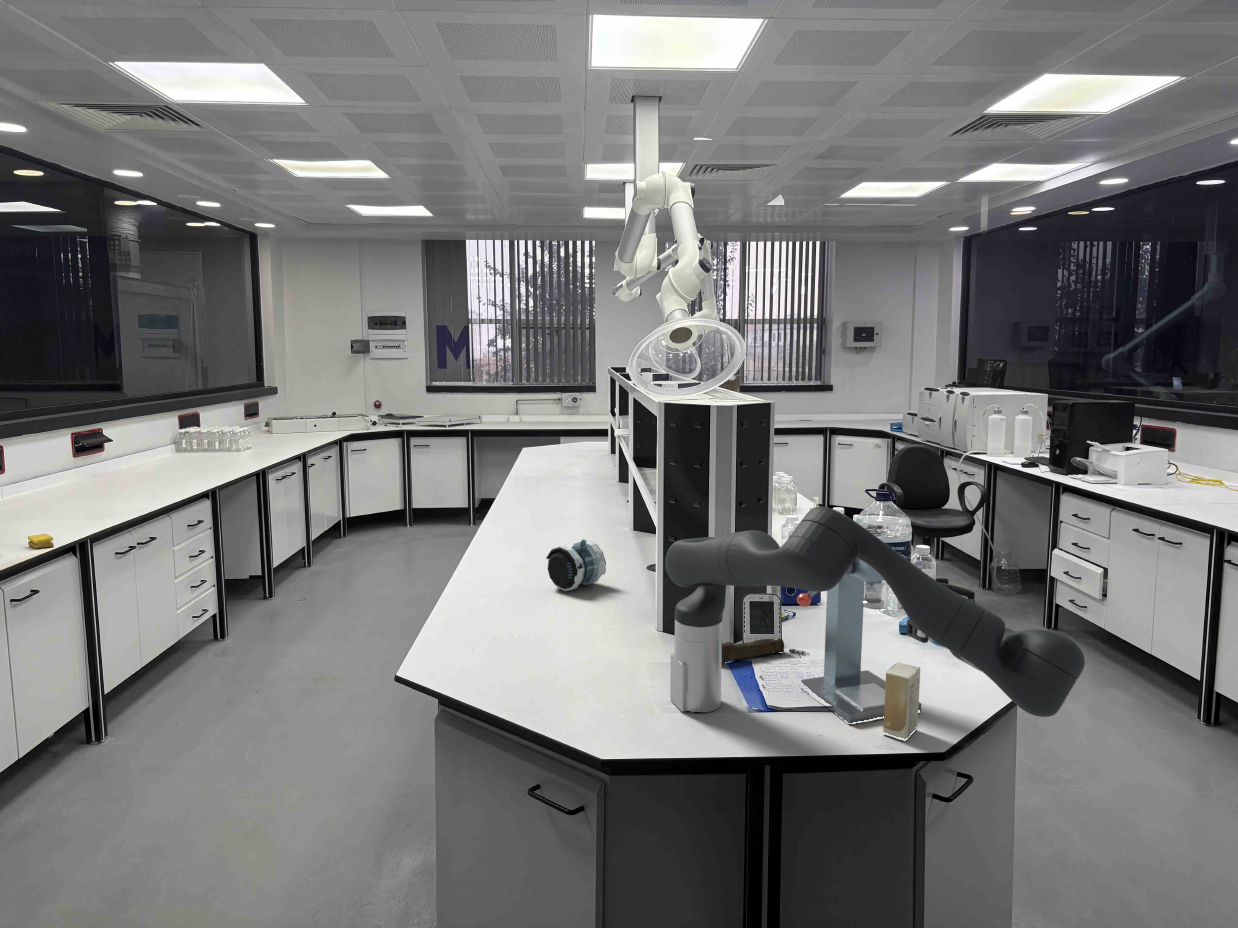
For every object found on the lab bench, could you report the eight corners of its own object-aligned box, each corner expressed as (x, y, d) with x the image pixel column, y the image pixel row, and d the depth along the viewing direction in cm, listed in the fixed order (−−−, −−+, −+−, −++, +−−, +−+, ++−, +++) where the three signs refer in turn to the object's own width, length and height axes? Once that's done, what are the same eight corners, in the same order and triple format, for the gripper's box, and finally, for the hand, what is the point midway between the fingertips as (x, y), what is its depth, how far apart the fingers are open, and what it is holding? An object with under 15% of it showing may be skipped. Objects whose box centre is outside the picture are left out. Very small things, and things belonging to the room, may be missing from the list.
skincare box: (894, 723, 149) (897, 660, 148) (918, 730, 146) (921, 666, 145) (881, 735, 144) (884, 671, 143) (905, 743, 142) (909, 677, 140)
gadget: (560, 601, 229) (585, 567, 222) (536, 567, 235) (559, 533, 227) (594, 590, 240) (618, 557, 232) (570, 559, 245) (593, 525, 238)
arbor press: (821, 729, 147) (827, 571, 142) (775, 692, 162) (779, 549, 158) (920, 713, 153) (929, 561, 149) (867, 679, 169) (873, 540, 165)
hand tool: (775, 649, 187) (775, 630, 186) (785, 655, 183) (785, 636, 183) (703, 661, 180) (703, 641, 179) (712, 668, 176) (712, 647, 175)
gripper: (934, 668, 117) (895, 643, 133) (1031, 669, 117) (980, 645, 133) (935, 617, 117) (896, 598, 133) (1032, 618, 117) (981, 600, 133)
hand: (938, 622), depth 133 cm, fingers open, 8 cm apart
